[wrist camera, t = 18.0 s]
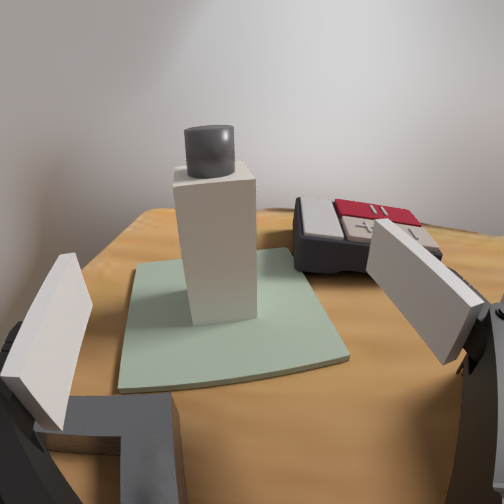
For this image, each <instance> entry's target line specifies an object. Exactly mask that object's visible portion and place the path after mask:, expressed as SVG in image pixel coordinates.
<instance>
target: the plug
mask: <svg viewBox="0 0 504 504" xmlns="http://www.w3.org/2000/svg"><path fill="white" fill-rule="evenodd" d="M184 136H185V149H186V161H187V166H179V167H175V173H174V183H173V191H174V201H175V209H176V218H177V225H178V233H179V240H180V248H181V255H182V261H183V268H184V275H185V281H186V287H187V293H188V299H189V305H190V311H191V317H192V322H193V326H201V325H209V324H217V323H225V322H233V321H240V320H247V319H254V318H257V243H256V179H255V178H254V176H253V175H252V174H251V172H250V171H249V170H248V168H247V167H246V166H245V164H244V163H243V162H242V161H235V155H234V153H235V152H234V127H233V126H229V125H209V126H199V127H192V128H188V129H185V130H184Z"/></svg>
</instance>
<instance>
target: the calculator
mask: <svg viewBox="0 0 504 504" xmlns="http://www.w3.org/2000/svg"><path fill="white" fill-rule="evenodd" d="M386 218H388V219H389V220H390V221H392V222H393V223H394V224H396V225H397V226H398V227H399V228H401V229H402V230H403V231H404V232H406V233H407V234H408V235H409V236H411V237H412V238H413V239H414V240H416V241H417V242H418V243H419V244H420V245H422V246H423V247H424V248H425V249H426V250H428V251H429V252H430V253H431V254H432V255H433V256H435V257H436V258H437V259H438V260H439V261H440V262H441V259H442V256H443V254H442V253H441V251H440V250H439V246H438V245H437V243H436V242H435V241H434V240H433V238H432V237H431V236H430V235H429V233H428V232H427V231H426V230H425V229H424V228H422V227H421V224H420V222H419V221H418V220H417V219H416V218H415V217H414V215H412V213H411V212H410V211H409V210H406V209H400V208H393V207H387V206H381V205H375V204H369V203H362V202H355V201H348V200H341V199H335V202H332V201H331V200H329V199H322V198H314V197H306V196H301V197H298V198H296V204H295V210H294V218H293V250H294V269H295V270H297V271H304V272H314V273H323V274H334V273H337V272H339V271H342V270H346V271H356V272H365V273H368V272H367V271H366V267H367V261H368V256H369V250H370V244H371V238H372V232H373V226H374V220H375V219H386Z"/></svg>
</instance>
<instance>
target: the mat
mask: <svg viewBox="0 0 504 504" xmlns="http://www.w3.org/2000/svg"><path fill="white" fill-rule="evenodd" d="M349 358H350V353H349V351H348V350H347V348H346V346H345V344H344V343H343V341H342V339H341V337H340V336H339V334H338V332H337V330H336V329H335V327H334V325H333V323H332V322H331V320H330V318H329V317H328V315H327V313H326V311H325V310H324V308H323V306H322V305H321V303H320V301H319V299H318V298H317V296H316V294H315V293H314V291H313V289H312V288H311V286H310V284H309V283H308V281H307V279H306V277H305V276H304V274H303V272H302V271H297V270H295V269H294V258H293V256H292V254H291V253H290V251H289V249H288V248H287V247H281V248H272V249H263V250H257V318H254V319H247V320H240V321H233V322H225V323H217V324H209V325H201V326H193V322H192V317H191V311H190V305H189V299H188V293H187V287H186V281H185V275H184V268H183V261H182V259H175V260H166V261H157V262H148V263H140V264H137V269H136V273H135V278H134V283H133V289H132V294H131V299H130V305H129V311H128V316H127V323H126V329H125V335H124V342H123V349H122V356H121V364H120V372H119V381H118V390H119V392H120V394H125V393H145V392H160V391H172V390H183V389H193V388H202V387H210V386H218V385H226V384H233V383H240V382H246V381H252V380H258V379H264V378H270V377H275V376H281V375H286V374H291V373H296V372H301V371H306V370H310V369H315V368H319V367H324V366H328V365H332V364H336V363H341V362H345V361H348V360H349Z"/></svg>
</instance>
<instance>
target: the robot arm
mask: <svg viewBox="0 0 504 504" xmlns="http://www.w3.org/2000/svg"><path fill="white" fill-rule="evenodd" d="M366 271H367V272H368V274H369V275H370V276H371V277H372V278H373V279H374V281H375V282H376V283H377V284H378V285H379V286H380V288H381V289H382V290H383V291H384V292H385V294H386V295H387V296H388V297H389V298H390V299H391V301H392V302H393V303H394V304H395V306H396V307H397V308H398V309H399V310H400V312H401V313H402V314H403V315H404V317H405V318H406V319H407V320H408V321H409V323H410V324H411V325H412V326H413V328H414V329H415V330H416V331H417V333H418V334H419V335H420V337H421V338H422V339H423V340H424V342H425V343H426V344H427V346H428V347H429V348H430V349H431V351H432V352H433V353H434V355H435V356H436V357H437V359H438V360H439V361H440V363H441V364H442V365H445V364H447V363H449V362H452V361H454V360H456V359H457V357H458V356H459V354H460V352H461V350H462V348H464V350H465V351H466V352H467V354H466V355H465V357H464V359H463V361H462V363H461V364H460V366H459V368H458V369H457V372H456V374H459V373H460V371H461V369H463V368H464V370H463V374H462V375H463V392H462V405H461V416H460V425H459V433H458V441H457V447H456V454H455V459H454V465H453V470H452V475H451V480H450V485H449V489H448V493H447V497H446V501H445V504H504V304H503V303H493V304H492V305H491V304H490V303H489V302H488V301H487V300H486V299H485V298H484V297H483V296H482V295H481V294H480V293H479V292H478V291H477V290H476V289H475V288H473V287H472V286H471V285H469V283H468V282H467V281H466V280H465V279H464V280H463V277H461V276H460V275H459V274H458V273H457V272H456V271H454V270H453V269H451V268H449V267H447V266H445V265H444V264H443V263H442V262H440V261H439V260H438V259H437V258H436V257H435V256H433V255H432V254H431V253H430V252H429V251H428V250H426V249H425V248H424V247H423V246H422V245H420V244H419V243H418V242H417V241H416V240H414V239H413V238H412V237H411V236H409V235H408V234H407V233H406V232H404V231H403V230H402V229H401V228H399V227H398V226H397V225H396V224H394V223H393V222H392V221H390V220H389V219H388V218H386V219H375V220H374V226H373V232H372V238H371V244H370V250H369V256H368V261H367V267H366ZM92 306H93V304H92V301H91V299H90V296H89V293H88V290H87V288H86V285H85V282H84V279H83V276H82V273H81V270H80V267H79V263H78V260H77V257H76V254H75V253H69V254H62V255H60V256H59V257H58V259H57V260H56V262H55V264H54V266H53V267H52V269H51V271H50V272H49V274H48V276H47V278H46V280H45V281H44V283H43V285H42V287H41V288H40V290H39V292H38V294H37V296H36V298H35V300H34V302H33V304H32V305H31V307H30V310H29V311H28V313H27V315H26V317H25V320H24V321H23V322H18V323H17V324H16V325H15V326H14V327H13V329H12V330H11V331H10V333H9V334H8V336H7V338H6V341H5V344H4V345H3V347H2V349H1V352H0V504H83V503H82V501H81V500H80V499H79V498H78V496H77V495H76V493H75V492H74V491H73V489H72V488H71V486H70V485H69V484H68V482H67V481H66V479H65V478H64V476H63V475H62V473H61V472H60V470H59V469H58V467H57V466H56V464H55V463H54V461H53V459H52V458H51V456H50V455H49V453H48V451H47V450H46V448H45V446H44V444H43V443H42V441H41V439H40V437H39V436H38V434H37V433H36V432H35V430H34V429H33V427H34V423H35V421H36V422H37V423H38V424H39V425H40V426H41V427H42V428H43V429H44V430H53V431H63V425H64V420H65V414H66V409H67V404H68V399H69V394H70V389H71V385H72V380H73V376H74V372H75V368H76V363H77V359H78V356H79V352H80V348H81V344H82V340H83V337H84V333H85V330H86V326H87V323H88V320H89V316H90V313H91V310H92Z"/></svg>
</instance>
